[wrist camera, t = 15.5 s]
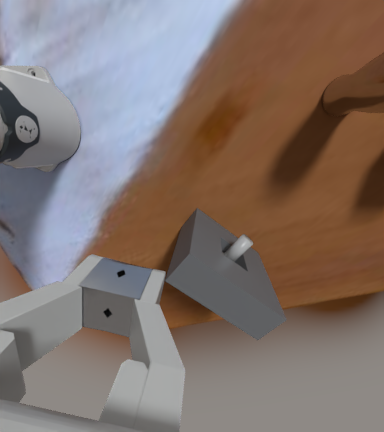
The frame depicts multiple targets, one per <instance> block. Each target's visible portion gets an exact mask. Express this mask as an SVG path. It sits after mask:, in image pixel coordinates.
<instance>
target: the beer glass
mask: <svg viewBox="0 0 384 432" xmlns="http://www.w3.org/2000/svg"><path fill="white" fill-rule="evenodd" d="M322 103H323V108H324V110H325V111H326V112H327V113H328V114H329V115H332V116H343V115H346V114H348V113H350V112H352V111H358V112H366V113H384V53H382V54H380V55H379V56H377V57H376V58H374V59H373V60H371V61H370V62H368V63H367V64H366V65H364V66H363V67H362V68H360V69H359V70H358V71H356V72H355V73H353V74H346V75H342V76H339V77H337V78H336V79H334V80H333V81H332V82H331V83H330V84H329V85H328V86H327V88H326V90H325V92H324V94H323V99H322Z"/></svg>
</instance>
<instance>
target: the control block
mask: <svg viewBox="0 0 384 432" xmlns="http://www.w3.org/2000/svg"><path fill="white" fill-rule="evenodd" d="M237 240H238V238H237V237H236V236H234V235H233V234H232V233H230V232H229V231H228V230H226V229H225V228H224V227H222V226H221V225H219V224H218V223H217V222H215V221H214V220H213V219H211V218H210V217H209V216H207V215H206V214H205V213H203V212H202V211H201V210H199V209H198V208H197V209H196V210H195V211H194V213H193V214H192V215H191V216H190V217H189V219H188V220H187V221H186V222H185V223H184V225H183V226H182V227H181V230H180V233H179V237H178V240H177V243H176V246H175V250H174V253H173V256H172V259H171V263H170V266H169V269H168V273H167V276H166V279H165V281H166V282H167V283H169V284H171V285H172V286H174V287H175V288H177V289H178V290H180V291H181V292H183V293H185V294H186V295H188V296H189V297H191V298H192V299H194V300H196V301H197V302H199V303H200V304H202V305H203V306H205V307H207V308H208V309H210V310H211V311H213V312H214V313H216V314H217V315H219V316H221V317H222V318H224V319H225V320H227V321H228V322H230V323H232V324H233V325H235V326H236V327H238V328H239V329H241V330H242V331H244V332H246V333H247V334H249V335H251V336H252V337H253V338H255V339H257V340H259V339H260V338H262V337H263V336H264V335H266V334H267V333H269V332H270V331H272V330H273V329H274V328H276V327H277V326H279V325H280V324H281V323H283V322H284V321H286V317H285V315H284V313H283V310H282V308H281V306H280V303H279V301H278V298H277V296H276V294H275V291H274V289H273V287H272V284H271V282H270V279H269V277H268V275H267V272H266V270H265V268H264V265H263V263H262V261H261V258H260V256H259V253H257V252H256V251H255V250H253V249H252V248H251V247H249V248H248V249H247V250H246V251H245V252H244V253H243V254H242V255H241V256H240V257H239V258H238V259H237V260H236V261H235V262H234V261H232V260H231V259H229V258H228V257H227V256H225V255H224V254H222V252H223V253H225V252H226V251H227V250H228V249H229V248H230V247H231V246H232V245H233V244H234V243H235V242H236V241H237Z"/></svg>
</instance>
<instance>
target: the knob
mask: <svg viewBox="0 0 384 432" xmlns="http://www.w3.org/2000/svg"><path fill="white" fill-rule="evenodd" d="M252 245H253V242H252V241H251V239H250V238H249V237H247V236H246V235H244V234H243V235H242V236H241V237H240V238H239V239H238V240H237V241H236V242H235V243H234V244H233V245H232V246H231V247H230V248H229V249H228V250H227V251H226V252H225V253H223V252H222V254H224V255H225V256H227V257H228V258H229V259H231V260H232V261H234V262H235V261H236V260H237V259H238V258H239V257H240V256H241V255H242V254H243V253H244V252H245V251H246V250H247V249H248V248H249V247H251V246H252Z"/></svg>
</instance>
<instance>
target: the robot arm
mask: <svg viewBox="0 0 384 432" xmlns="http://www.w3.org/2000/svg"><path fill="white" fill-rule="evenodd" d="M34 73H35V76H34ZM80 135H81V131H80V123H79V119H78V116H77V114H76V111H75V109H74V107H73V106H72V104H71V103H70V101H69V100H68V99H67V97H66V96H65V95H64V94H63V93H62V92H61V91H60V90H59V89H58V88H57V87H56V86H55V84H54V82H53V80H52V78H51V76H50V74H49V73H48V71H47V70H46V69H45V68H43V67H39V66H0V164H1V163H3V164H5V165H10V166H13V167H14V168H18V169H19V168H30V167H35V168H37V169H39V170H42V171H44V172H51V171H53V170H54V169H55V168H56V166H57V165H58V163H60V162H62V161H64V160H66V159H68V158H70V157H71V156H72V155H73V154H74V153H75V151H76V150H77V148H78V145H79V142H80ZM165 275H166V272H165V271H161V270H156V269H150V268H146V267H141V266H137V265H132V264H128V263H124V262H120V261H116V260H113V259H109V258H104V257H100V256H96V255H90V256H88V257H87V258H86V259H85V260H84V261H83V262H82V263H81V264H80V265H79V266H78V267H77V268H76V269H75V270H74V271H73V272H72V273H71V274H70V275H69V276H68V277H67V278H66V279H65V280H64V281H63V282H58V281H57V282H54V283H52V284H49V285H46V286H44V287H41V288H39V289H36V290H33V291H31V292H28V293H25V294H23V295H20V296H17V297H15V298H12V299H9V300H7V301H4V302H2V303H0V432H179V428H180V419H181V409H182V399H183V389H184V380H185V369H184V366H183V364H182V361H181V359H180V356H179V354H178V351H177V348H176V346H175V343H174V341H173V338H172V335H171V333H170V330H169V328H168V325H167V323H166V320H165V317H164V315H163V312H162V310H161V307H160V305H159V303H160V299H161V295H162V290H163V285H164V280H165ZM82 327H87V328H93V329H97V330H102V331H107V332H111V333H115V334H119V335H122V336H126V337H130V338H129V340H130V345H131V353H132V359H133V360H129V359H128V360H127V361H125V362H123V363H122V364H121V367H120V369H119V372H118V374H117V377H116V379H115V382H114V384H113V387H112V389H111V392H110V394H109V396H108V399H107V401H106V404H105V406H104V409H103V411H102V414H101V416H100V419H99V421H97V420H92V419H88V418H83V417H79V416H74V415H70V414H66V413H61V412H57V411H52V410H48V409H43V408H39V407H35V406H30V405H26V404H21V403H19V402H20V400H21V399H22V398H23V396H24V395H25V393H26V392H25V383H24V379H23V374H22V371H23V370H24V369H26V368H27V367H28V366H30V365H31V364H33V363H34V362H36V361H37V360H38V359H40V358H41V357H42V356H44V355H45V354H47V353H48V352H50V351H51V350H52V349H54V348H55V347H57V346H58V345H59V344H61V343H62V342H64V341H65V340H66V339H68V338H69V337H71V336H72V335H73V334H75V333H76V332H77V331H79V330H80V329H82Z"/></svg>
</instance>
